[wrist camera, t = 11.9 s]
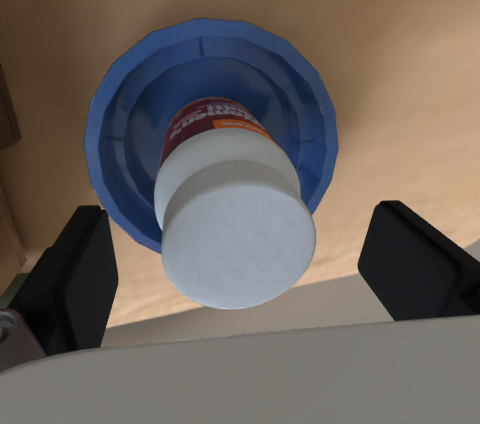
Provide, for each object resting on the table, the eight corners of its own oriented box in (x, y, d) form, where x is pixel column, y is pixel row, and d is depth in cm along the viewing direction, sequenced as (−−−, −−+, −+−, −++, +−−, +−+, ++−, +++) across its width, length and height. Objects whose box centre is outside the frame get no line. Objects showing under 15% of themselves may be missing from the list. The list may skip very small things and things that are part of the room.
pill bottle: (250, 83, 18) (327, 137, 8) (268, 176, 21) (339, 293, 12) (149, 110, 18) (108, 196, 8) (182, 199, 21) (180, 338, 11)
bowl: (118, 233, 22) (106, 269, 19) (83, 13, 16) (55, 7, 12) (296, 227, 24) (314, 258, 21) (330, 31, 18) (364, 30, 14)
